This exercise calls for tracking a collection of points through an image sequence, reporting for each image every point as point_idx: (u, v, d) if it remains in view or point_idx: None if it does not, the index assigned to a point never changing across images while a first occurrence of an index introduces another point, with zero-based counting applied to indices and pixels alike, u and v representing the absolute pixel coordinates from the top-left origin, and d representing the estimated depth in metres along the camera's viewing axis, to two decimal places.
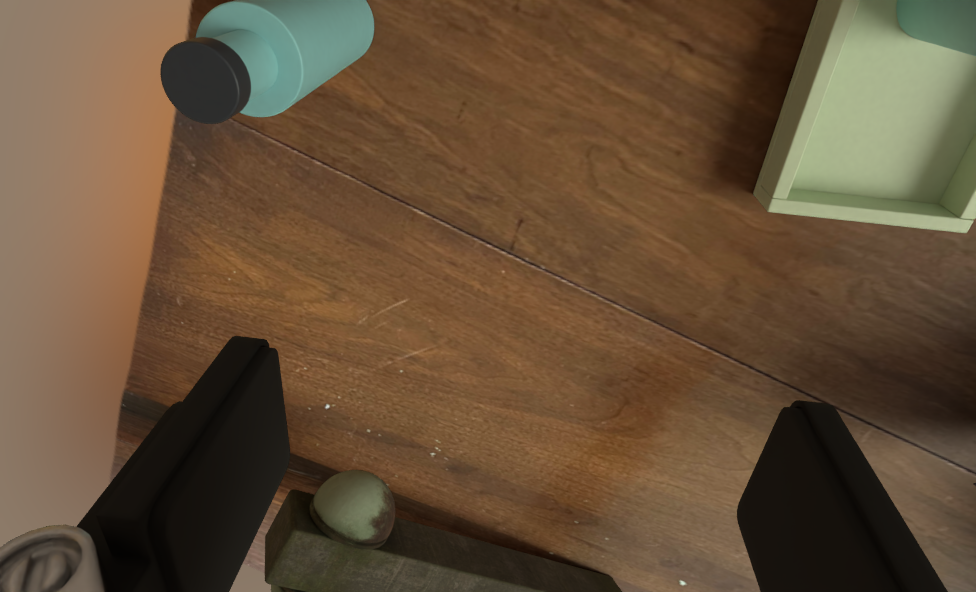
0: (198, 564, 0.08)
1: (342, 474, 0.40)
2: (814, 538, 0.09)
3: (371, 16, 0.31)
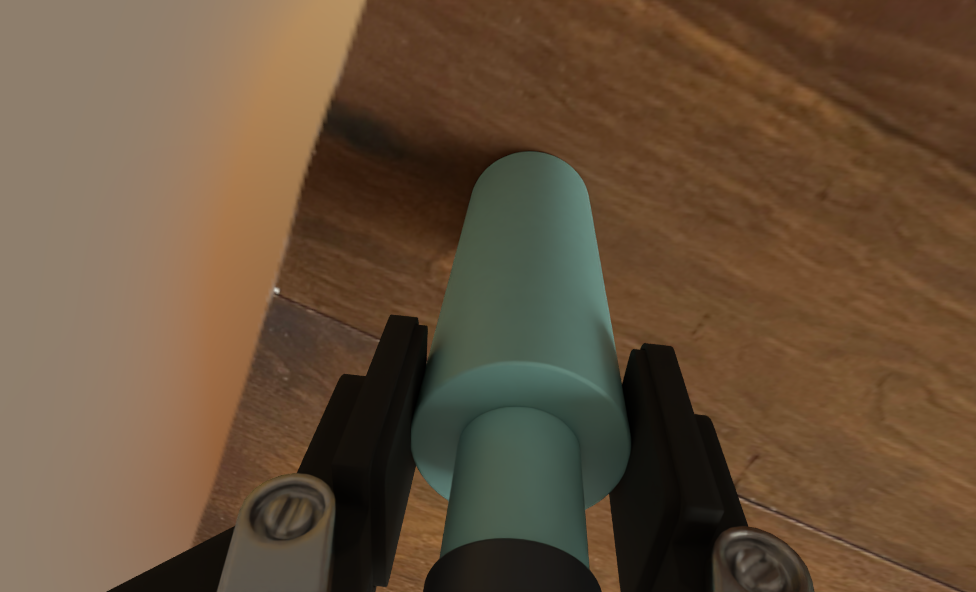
0: (391, 515, 0.09)
1: None
2: (638, 459, 0.10)
3: None
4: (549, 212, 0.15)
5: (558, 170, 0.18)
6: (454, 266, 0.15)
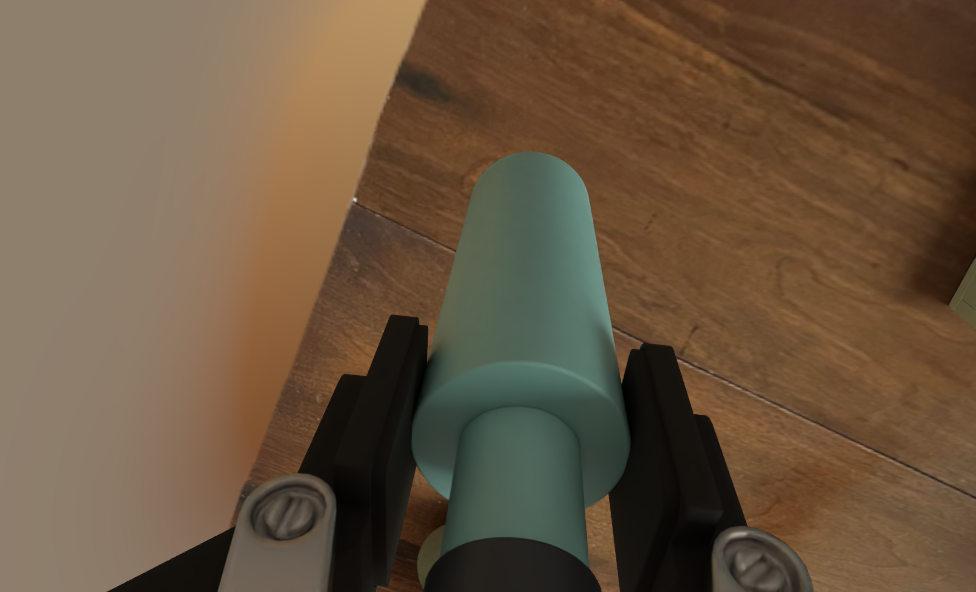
0: (391, 515, 0.09)
1: None
2: (637, 459, 0.10)
3: None
4: (549, 212, 0.15)
5: (558, 170, 0.18)
6: (454, 266, 0.15)
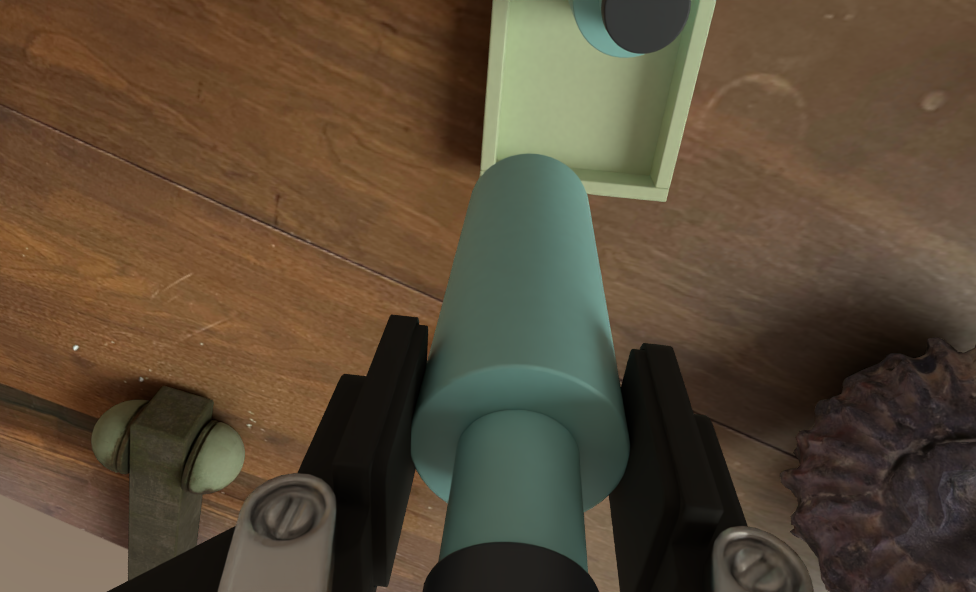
0: (391, 515, 0.09)
1: (238, 443, 0.47)
2: (637, 459, 0.10)
3: None
4: (549, 214, 0.15)
5: (557, 172, 0.18)
6: (453, 268, 0.15)
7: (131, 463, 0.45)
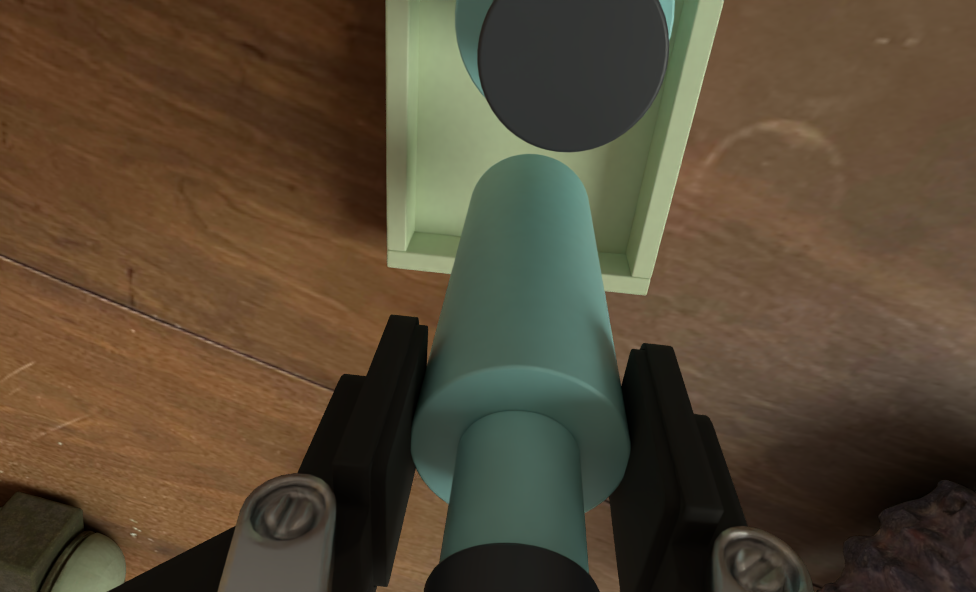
0: (391, 515, 0.09)
1: (114, 562, 0.38)
2: (637, 459, 0.10)
3: None
4: (549, 215, 0.15)
5: (558, 172, 0.18)
6: (454, 269, 0.15)
7: None
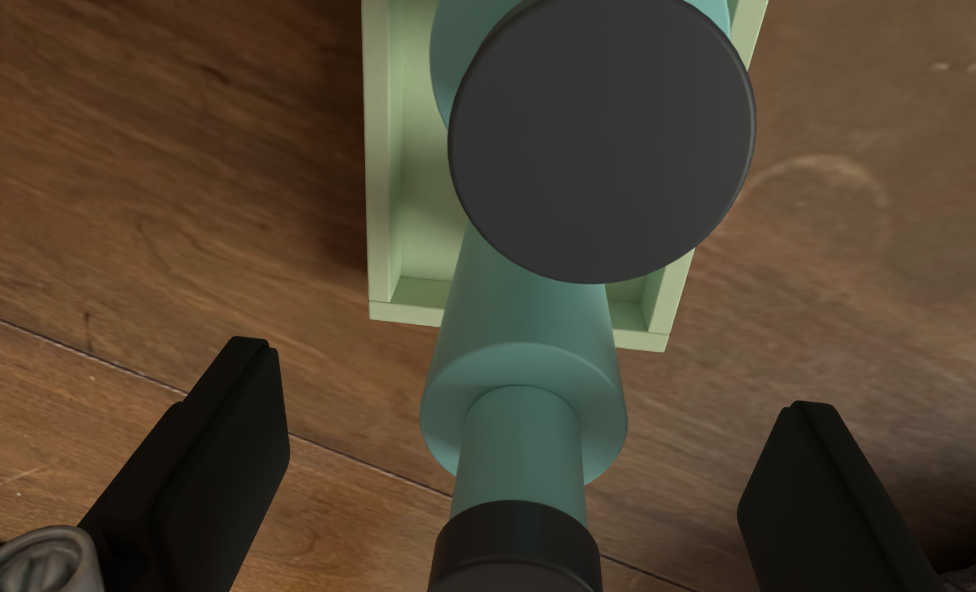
0: (198, 564, 0.08)
1: None
2: (814, 538, 0.09)
3: None
4: None
5: None
6: (460, 258, 0.16)
7: None
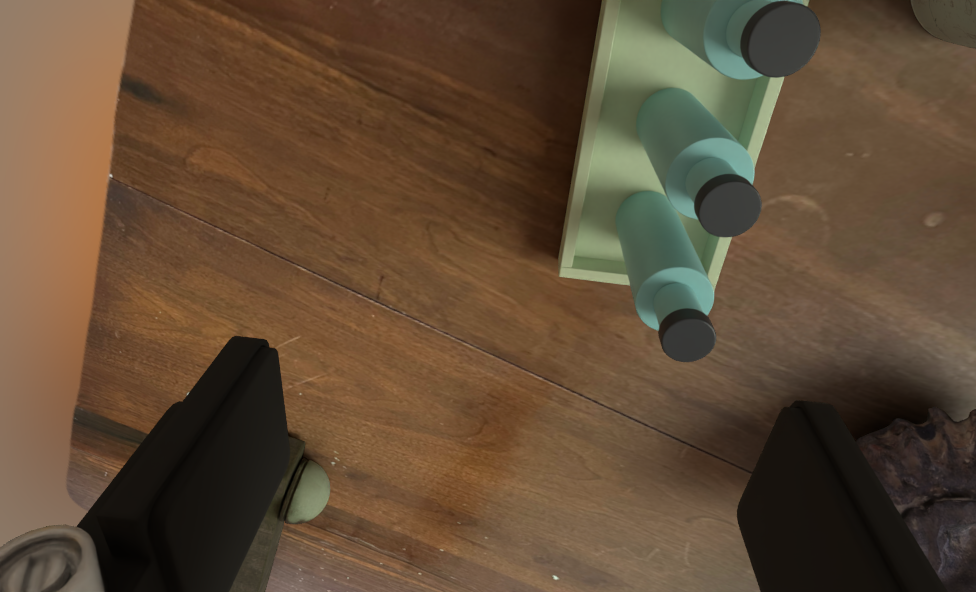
0: (198, 564, 0.08)
1: (326, 479, 0.54)
2: (814, 538, 0.09)
3: None
4: (669, 219, 0.36)
5: (665, 200, 0.39)
6: (630, 241, 0.35)
7: None
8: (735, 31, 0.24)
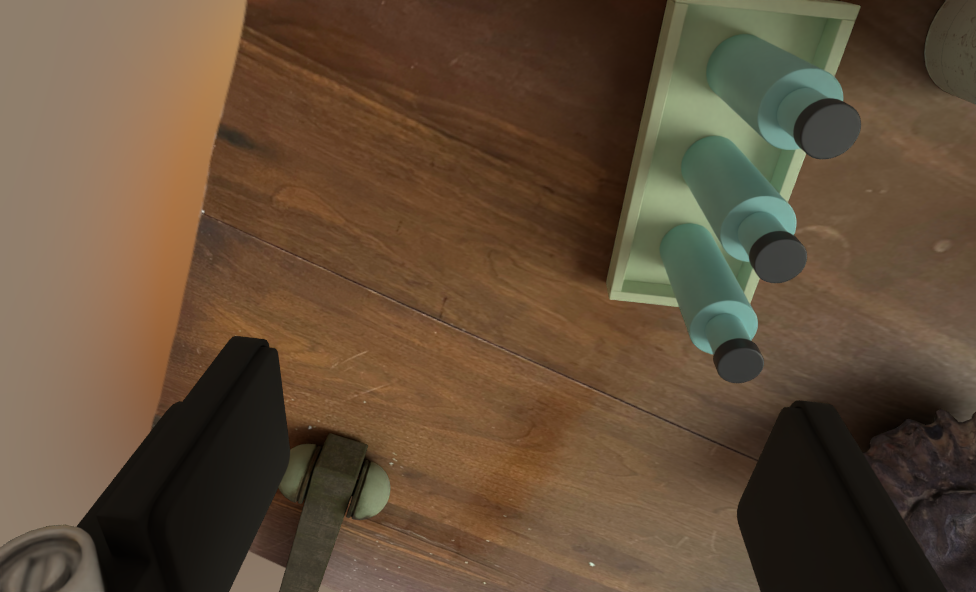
0: (198, 564, 0.08)
1: (387, 479, 0.60)
2: (814, 538, 0.09)
3: None
4: (713, 253, 0.41)
5: (705, 232, 0.44)
6: (679, 273, 0.40)
7: (308, 495, 0.58)
8: (787, 116, 0.28)
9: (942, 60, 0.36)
